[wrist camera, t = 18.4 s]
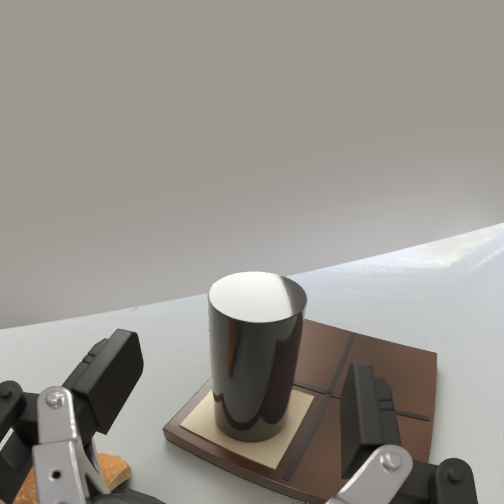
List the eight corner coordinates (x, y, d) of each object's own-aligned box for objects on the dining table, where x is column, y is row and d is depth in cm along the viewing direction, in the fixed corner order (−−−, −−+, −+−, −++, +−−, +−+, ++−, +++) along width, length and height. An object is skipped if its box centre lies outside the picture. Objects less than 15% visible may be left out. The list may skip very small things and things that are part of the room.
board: (164, 438, 18) (161, 426, 17) (270, 318, 31) (271, 307, 30) (408, 526, 11) (418, 519, 11) (432, 362, 24) (437, 351, 24)
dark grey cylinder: (200, 423, 18) (187, 302, 14) (236, 379, 22) (238, 263, 18) (267, 454, 16) (284, 335, 12) (298, 402, 20) (319, 285, 16)
